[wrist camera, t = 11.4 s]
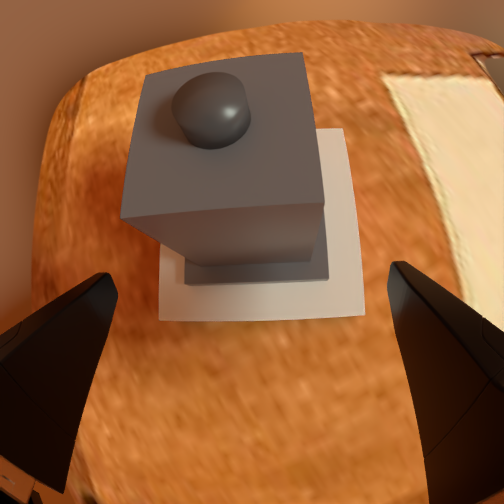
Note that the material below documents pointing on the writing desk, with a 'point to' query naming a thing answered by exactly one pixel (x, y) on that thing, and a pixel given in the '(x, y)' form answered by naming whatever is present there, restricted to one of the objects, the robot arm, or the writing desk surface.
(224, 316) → the socket
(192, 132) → the grey block with knob
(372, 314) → the writing desk surface
